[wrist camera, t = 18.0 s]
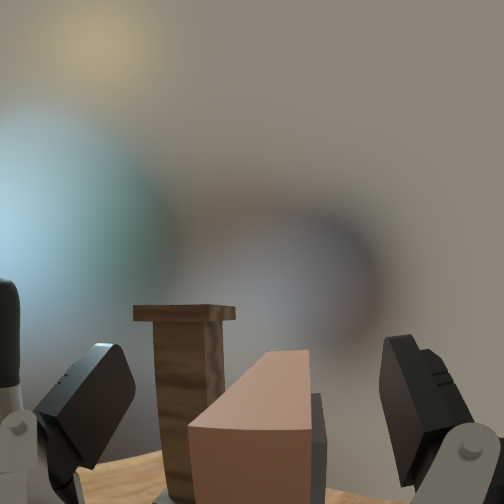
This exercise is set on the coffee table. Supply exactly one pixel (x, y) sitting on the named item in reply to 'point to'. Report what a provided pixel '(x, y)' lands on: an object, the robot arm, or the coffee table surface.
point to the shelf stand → (184, 381)
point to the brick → (257, 436)
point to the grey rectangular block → (318, 452)
